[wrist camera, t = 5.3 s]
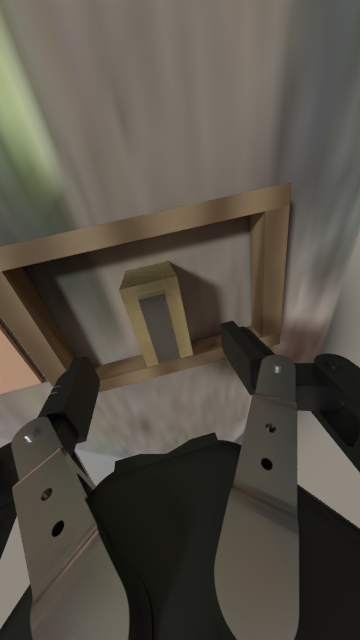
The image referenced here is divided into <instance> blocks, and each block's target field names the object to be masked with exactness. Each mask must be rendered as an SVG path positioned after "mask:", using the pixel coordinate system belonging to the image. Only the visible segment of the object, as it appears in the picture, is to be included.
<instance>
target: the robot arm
mask: <svg viewBox="0 0 360 640" xmlns="http://www.w3.org/2000/svg"><path fill="white" fill-rule="evenodd" d="M220 332H221V343H222V348H223V351H224V354H225V355H226V357H227V358H228V360H229V362H230V363H231V365H232V367H233V368H234V370H235V371H236V373H237V375H238V376H239V378H240V379H241V381H242V383H243V384H244V386H245V388H246V389H247V391H248V392H249V394H250V395H253V396H252V400H251V404H250V409H249V414H248V418H247V423H246V428H245V432H244V437H243V442H242V445H239V444H237V443H234V442H230V441H225V440H217V437H216V434H215V432H214V433H211V434H207V435H204V436H201V437H197V438H194V439H191V440H189V441H187V442H186V443H184V444H182V445H181V446H179V447H178V448H176V449H174V450H173V451H171V452H169V453H167V454H139V455H135V456H132V457H128V458H125V459H122V460H118V461H115V469H114V472H112V473H111V474H110V475H108V476H107V477H106V478H104V479H103V480H102V481H101V482H100V483H99V484H98V485H97V486H95V484H94V483H93V481H92V480H91V478H90V476H89V474H88V473H87V471H86V469H85V467H84V465H83V464H82V462H81V460H80V458H79V457H78V455H77V453H76V452H75V446H76V444H77V443H81V442H84V441H86V439H87V435H88V431H89V427H90V423H91V419H92V415H93V411H94V407H95V403H96V399H97V395H98V391H99V388H100V380H99V376H98V374H97V373H96V371H95V369H94V367H93V365H92V363H91V361H90V359H89V358H87V357H85V358H81V359H77V360H73V361H72V363H71V365H70V367H69V369H68V371H65V372H64V373H63V374H62V375H61V376H60V377H59V378H58V380H57V381H56V383H55V385H54V388H53V389H52V391H51V393H50V395H49V397H48V399H47V400H46V402H45V404H44V406H43V408H42V410H41V412H40V414H39V416H38V417H37V418H36V419H34V420H32V421H30V422H28V423H27V424H26V425H24V426H23V427H22V428H21V429H20V430H19V431H18V432H17V433H16V435H15V436H14V438H13V440H12V442H10V443H8V444H7V445H5V446H3V447H1V448H0V558H1V556H2V553H3V551H4V548H5V545H6V543H7V540H8V538H9V535H10V532H11V530H12V527H13V524H14V522H15V519H16V516H17V517H18V523H19V528H20V532H21V537H22V543H23V548H24V553H25V559H26V564H27V569H28V574H29V579H30V585H29V587H28V588H27V590H26V591H25V593H24V594H23V596H22V597H21V599H20V600H19V602H18V603H17V605H16V606H15V608H14V609H13V611H12V612H11V614H10V616H9V617H8V618H7V620H6V622H5V623H4V624H3V626H2V628H1V629H0V640H360V528H358V527H357V526H356V525H354V524H353V523H351V522H350V521H349V520H347V519H346V518H344V517H343V516H342V515H340V514H339V513H337V512H336V511H334V510H333V509H332V508H330V507H329V506H327V505H326V504H325V503H323V502H322V501H321V500H319V499H318V498H316V497H315V496H314V495H312V494H311V493H309V492H308V491H306V490H305V489H304V488H302V487H301V486H299V485H298V484H297V410H302V411H311V412H312V414H313V415H314V416H315V417H316V418H317V420H318V421H319V422H320V423H321V425H322V426H323V427H324V428H325V430H326V431H327V432H328V433H329V435H330V436H331V437H332V438H333V440H334V441H335V442H336V443H337V445H338V446H339V447H340V448H341V450H342V451H343V452H344V453H345V455H346V456H347V457H348V458H349V460H350V461H351V462H352V463H353V465H354V466H355V467H356V468H357V470H358V471H359V472H360V368H359V367H358V366H356V365H355V364H354V363H352V362H351V361H350V360H348V359H346V358H344V357H342V356H339V355H335V354H321V355H318V356H317V357H316V358H315V360H314V363H293V362H292V361H291V360H290V359H288V358H287V357H284V356H280V355H275V354H274V353H273V352H272V351H271V350H270V349H269V348H268V347H267V346H266V345H265V344H264V343H263V342H262V341H261V340H260V339H259V338H258V337H257V336H256V335H255V334H254V333H253V332H252V331H251V330H250V329H248V328H245V327H238V326H237V325H236V324H235V322H234V321H229V322H225V323H222V324H220Z"/></svg>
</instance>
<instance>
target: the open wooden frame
mask: <svg viewBox="0 0 360 640" xmlns="http://www.w3.org/2000/svg"><path fill="white" fill-rule="evenodd" d="M290 196H291V183H287V184H283V185H278V186H274V187H269V188H264V189H260V190H255V191H251V192H246V193H242V194H237V195H233V196H228V197H224V198H219V199H215V200H210V201H206V202H201V203H196V204H192V205H187V206H183V207H178V208H174V209H169V210H165V211H160V212H156V213H151V214H147V215H142V216H137V217H133V218H128V219H124V220H119V221H115V222H110V223H106V224H101V225H97V226H92V227H88V228H83V229H79V230H74V231H69V232H65V233H60V234H56V235H51V236H47V237H42V238H38V239H33V240H29V241H24V242H20V243H15V244H11V245H6V246H1V247H0V316H1V317H2V318H3V320H4V321H5V322H6V324H7V325H8V326H9V328H10V329H11V330H12V332H13V333H14V335H15V336H16V337H17V339H18V340H19V341H20V343H21V344H22V345H23V347H24V348H25V349H26V351H27V352H28V354H29V355H30V356H31V358H32V359H33V360H34V362H35V363H36V364H37V366H38V367H39V368H40V370H41V371H42V373H43V374H44V375H45V377H46V378H47V379H48V381H49V382H50V383H51V385H52V386H53V387H54V385H55V383H56V381H57V380H58V378H59V377H60V376H61V375H62V374H63V373H64V372H65V371H68V369H69V367H70V365H71V363H72V361H73V360H77V358H76V357H75V355H74V353H73V352H72V350H71V348H70V346H69V345H68V343H67V341H66V340H65V338H64V336H63V335H62V333H61V331H60V330H59V328H58V326H57V324H56V323H55V321H54V319H53V318H52V316H51V314H50V313H49V311H48V309H47V308H46V306H45V304H44V302H43V301H42V299H41V297H40V296H39V294H38V292H37V291H36V289H35V287H34V286H33V284H32V282H31V280H30V279H29V277H28V275H27V274H26V272H25V270H24V269H23V267H22V266H27V265H31V264H36V263H40V262H44V261H49V260H53V259H58V258H62V257H66V256H71V255H75V254H80V253H84V252H88V251H93V250H97V249H102V248H106V247H110V246H115V245H119V244H124V243H128V242H132V241H137V240H141V239H145V238H150V237H154V236H159V235H163V234H167V233H172V232H176V231H181V230H185V229H189V228H194V227H198V226H203V225H207V224H211V223H216V222H220V221H225V220H229V219H233V218H238V217H242V216H247V215H250V261H251V326H250V327H246V328H248V329H250V330H251V331H252V332H253V333H254V334H255V335H256V336H257V337H258V338H259V339H260V340H261V341H262V342H263V343H264V344H265V345H266V346H267V347H270V346H273V345H277V344H280V330H281V317H282V303H283V290H284V276H285V263H286V249H287V236H288V223H289V209H290ZM191 347H192V352H193V355H192V356H188V357H184V358H180V359H177V360H173V361H169V362H165V363H162V364H158V365H154V366H150V367H147V364H146V362H145V359H144V356H143V355H139V356H135V357H131V358H127V359H124V360H120V361H116V362H112V363H108V364H104V365H101V366H97V367H94V369H95V371H96V373H97V374H98V376H99V380H100V388H99V391H98V392H102V391H106V390H110V389H113V388H117V387H121V386H125V385H128V384H132V383H136V382H139V381H143V380H147V379H151V378H154V377H158V376H162V375H165V374H169V373H173V372H177V371H180V370H184V369H188V368H191V367H195V366H199V365H203V364H206V363H210V362H214V361H218V360H221V359H225V358H227V357H226V355H225V354H224V351H223V348H222V343H221V334H219V335H216V336H212V337H208V338H204V339H200V340H196V341H193V342H191Z"/></svg>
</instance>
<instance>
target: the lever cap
mask: <svg viewBox="0 0 360 640" xmlns="http://www.w3.org/2000/svg"><path fill="white" fill-rule="evenodd" d="M119 291H120V294H121V296H122V299H123V302H124V305H125V307H126V310H127V313H128V316H129V318H130V321H131V324H132V326H133V329H134V332H135V335H136V337H137V340H138V343H139V345H140V348H141V351H142V354H143V356H144V359H145V362H146V364H147V367H150V366H154V365H158V364H162V363H165V362H169V361H173V360H177V359H180V358H184V357H188V356H192V355H193V352H192V347H191V342H190V337H189V332H188V327H187V322H186V317H185V313H184V308H183V303H182V298H181V293H180V288H179V283H178V278H177V275H176V274H175V272H174V270H173V268H172V267H171V265H170V263H169V262H168V261H166V262H162V263H158V264H154V265H149V266H145V267H141V268H137V269H133V270H128V271H126V272H125V275H124V278H123V280H122V283H121V286H120V289H119Z"/></svg>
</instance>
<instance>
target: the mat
mask: <svg viewBox="0 0 360 640" xmlns="http://www.w3.org/2000/svg"><path fill="white" fill-rule="evenodd" d="M42 382H43V380H42V378H41V377H40V376H39V374H38V373H37V372H36V370H35V369H34V368H33V366H32V365H31V364H30V362H29V361H28V360H27V358H26V357H25V356H24V354H23V353H22V352H21V350H20V349H19V348H18V346H17V345H16V344H15V342H14V341H13V340H12V338H11V337H10V336H9V335H8V333H7V332H6V331H5V329H4V328H3V327H2V325H1V324H0V394H2V393H6V392H10V391H14V390H17V389H21V388H25V387H29V386H33V385H36V384H40V383H42Z"/></svg>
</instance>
